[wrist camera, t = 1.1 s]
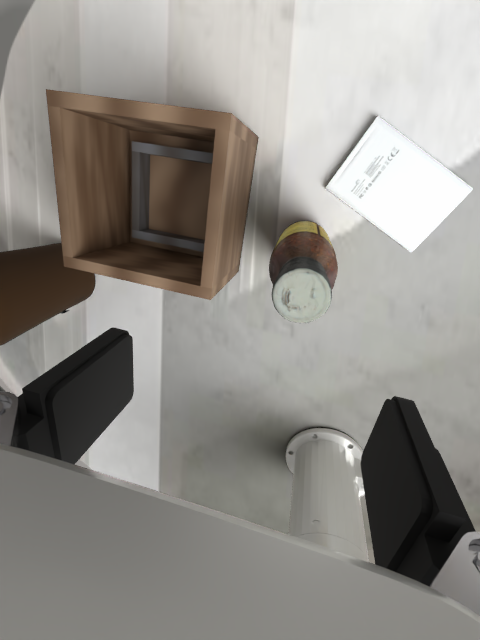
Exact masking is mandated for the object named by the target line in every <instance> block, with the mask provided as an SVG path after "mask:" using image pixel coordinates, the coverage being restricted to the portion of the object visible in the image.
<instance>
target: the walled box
mask: <svg viewBox="0 0 480 640" xmlns="http://www.w3.org/2000/svg"><path fill="white" fill-rule="evenodd" d="M46 95H47V105H48V115H49V124H50V134H51V144H52V154H53V164H54V173H55V183H56V193H57V203H58V213H59V222H60V232H61V242H62V252H63V261H64V266H65V267H69V268H73V269H78V270H82V271H86V272H91V273H95V274H100V275H104V276H108V277H113V278H117V279H121V280H126V281H130V282H135V283H139V284H143V285H148V286H152V287H156V288H161V289H165V290H170V291H174V292H178V293H183V294H187V295H191V296H196V297H200V298H205V299H209V300H211V299H212V298H213V297H214V296H215V295H216V294H217V293H218V292H219V291H220V290H221V289H222V288H223V287H224V286H225V285H226V284H227V283H228V282H229V281H230V280H231V279H232V278H233V277H234V276H235V275H236V273H237V272H238V271H239V264H240V258H241V251H242V244H243V237H244V231H245V224H246V217H247V210H248V204H249V197H250V190H251V183H252V177H253V170H254V163H255V156H256V150H257V143H258V136H257V135H255V134H254V133H253V132H252V131H251V130H250V129H249V128H248V127H246V126H245V125H244V124H243V123H242V122H241V121H240V120H239V119H237V118H236V117H235V116H234V115H233V114H232V113H225V112H217V111H209V110H202V109H194V108H186V107H178V106H171V105H163V104H155V103H147V102H140V101H132V100H124V99H116V98H109V97H101V96H93V95H85V94H78V93H70V92H62V91H54V90H47V89H46Z"/></svg>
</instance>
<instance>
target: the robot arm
mask: <svg viewBox="0 0 480 640" xmlns="http://www.w3.org/2000/svg"><path fill="white" fill-rule="evenodd" d="M22 391H23V394H21V395H20V396H19V397H17V396H16V395H15V394H12V393H10V392H2V391H0V640H480V533H479V532H476V531H475V529H474V527H473V525H472V522H471V520H470V518H469V516H468V514H467V512H466V509H465V507H464V505H463V503H462V501H461V498H460V496H459V494H458V492H457V490H456V487H455V485H454V483H453V481H452V479H451V477H450V474H449V472H448V470H447V468H446V466H445V463H444V461H443V459H442V457H441V455H440V453H439V451H438V450H437V449H436V448H435V447H434V445H433V443H432V441H431V438H430V436H429V434H428V432H427V429H426V427H425V425H424V423H423V420H422V418H421V416H420V414H419V411H418V409H417V407H416V405H415V403H414V401H412V400H408V399H404V398H400V397H396V396H394V397H393V398H392V399H391V400H390V399H386V401H385V402H384V405H383V407H382V409H381V412H380V414H379V416H378V419H377V421H376V423H375V426H374V428H373V430H372V433H371V435H370V437H369V439H368V442H367V444H366V446H365V449H364V451H362V449H361V447H360V446H359V445H358V443H357V442H356V441H354V440H353V439H352V438H351V437H349V436H348V435H346V434H344V433H342V432H339V431H336V430H332V429H326V428H314V429H308V430H305V431H302V432H300V433H298V434H297V435H295V436H294V437H293V438H292V439H291V440H290V442H289V443H288V446H287V448H286V463H287V466H288V468H289V470H290V471H291V472H292V474H293V486H292V497H291V509H290V520H289V532H288V534H285V533H282V532H279V531H276V530H273V529H270V528H267V527H264V526H261V525H258V524H255V523H252V522H249V521H246V520H243V519H240V518H237V517H234V516H231V515H228V514H225V513H222V512H219V511H216V510H213V509H210V508H207V507H204V506H201V505H198V504H195V503H192V502H189V501H186V500H182V499H179V498H176V497H173V496H170V495H167V494H164V493H161V492H158V491H155V490H152V489H149V488H146V487H143V486H140V485H136V484H133V483H130V482H127V481H124V480H121V479H118V478H115V477H112V476H108V475H105V474H102V473H99V472H96V471H93V470H89V469H87V468H83V467H80V466H77V465H74V464H75V463H76V462H77V461H78V460H79V459H80V458H81V456H82V455H83V454H84V453H85V452H86V451H87V450H88V448H89V447H90V446H91V445H92V444H93V443H94V442H95V440H96V439H97V438H98V437H99V436H100V435H101V434H102V432H103V431H104V430H105V429H106V428H107V427H108V426H109V424H110V423H111V422H112V421H113V420H114V419H115V418H116V416H117V415H118V414H119V413H120V412H121V411H122V410H123V409H124V407H125V406H126V405H127V404H128V403H129V402H130V400H131V399H132V396H133V392H134V387H133V341H132V336H130V335H129V333H128V331H125V330H121V329H117V328H110V329H109V330H107V331H106V332H104V333H103V334H101V335H100V336H99V337H97V338H96V339H94V340H93V341H91V342H90V343H88V344H87V345H85V346H84V347H82V348H81V349H80V350H78V351H77V352H75V353H74V354H72V355H71V356H69V357H68V358H66V359H65V360H63V361H62V362H60V363H59V364H58V365H56V366H55V367H53V368H52V369H50V370H49V371H47V372H46V373H44V374H43V375H41V376H40V377H38V378H37V379H36V380H34V381H33V382H31V383H30V384H28V385H27V386H25V387H24V388H22ZM362 496H365V499H366V505H367V512H368V518H369V525H370V531H371V538H372V544H373V550H374V557H375V564H376V565H375V564H372V563H370V562H369V560H368V553H367V545H366V538H365V531H364V523H363V516H362V508H361V501H360V497H362Z"/></svg>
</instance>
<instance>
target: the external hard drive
mask: <svg viewBox="0 0 480 640" xmlns="http://www.w3.org/2000/svg"><path fill="white" fill-rule="evenodd" d="M325 188H326V189H327V190H329V191H330V192H331V193H333V194H334V195H335V196H336V197H338V198H339V199H340V200H342V201H343V202H344V203H346V204H347V205H348V206H350V207H351V208H352V209H354V210H355V211H356V212H358V213H359V214H360V215H362V216H363V217H364V218H366V219H367V220H368V221H369V222H371V223H372V224H373V225H375V226H376V227H377V228H379V229H380V230H381V231H383V232H384V233H385V234H387V235H388V236H389V237H391V238H392V239H393V240H395V241H396V242H397V243H399V244H400V245H401V246H403V247H404V248H405V249H407V250H408V251H409V252H412V251H413V250H415V249H416V248H417V247H418V245H419V244H420V243H421V242H422V241H423V240H424V239H425V238H426V237H427V236H428V235H429V234H430V233H431V232H432V231H433V230H434V229H435V228H436V227H437V226H438V225H439V224H440V223H441V222H442V221H443V220H444V219H445V218H446V217H447V216H448V215H449V214H450V213H451V212H452V210H453V209H454V208H456V206H457V205H458V204H459V203H460V202H461V201H462V200H463V199H464V198H465V197H466V196H467V195H468V194H469V193H470V192H471V191H472V190H473V188H472V187H471V186H469V185H468V184H467V183H465V182H464V181H463V180H462V179H460V178H459V177H458V176H456V175H455V174H454V173H452V172H451V171H450V170H449V169H447V168H446V167H445V166H443V165H442V164H441V163H439V162H438V161H437V160H436V159H434V158H433V157H432V156H430V155H429V154H428V153H426V152H425V151H424V150H423V149H421V148H420V147H419V146H417V145H416V144H415V143H413V142H412V141H411V140H410V139H408V138H407V137H406V136H404V135H403V134H402V133H400V132H399V131H398V130H396V129H395V128H394V127H393V126H391V125H390V124H389V123H387V122H386V121H385V120H384V119H382V118H381V117H380V116H377V117H376V119H375V120H374V121H373V123H372V124H371V126H370V127H369V128H368V130H367V131H366V132H365V134H364V135H363V137H362V138H361V139H360V141H359V142H358V144H357V145H356V146H355V148H354V149H353V150H352V152H351V153H350V154H349V156H348V157H347V159H346V160H345V161H344V163H343V164H342V165H341V167H340V168H339V170H338V171H337V172H336V174H335V175H334V176H333V178H332V179H331V180H330V182H329V183H328V185H327V186H326V187H325Z"/></svg>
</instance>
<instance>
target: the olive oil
mask: <svg viewBox="0 0 480 640" xmlns="http://www.w3.org/2000/svg"><path fill="white" fill-rule="evenodd" d="M94 287H95V275H94V273H91V272H86V271H82V270H78V269H73V268H69V267H65V266H64V261H63V252H62V243H57V244H51V245H45V246H39V247H33V248H26V249H20V250H13V251H6V252H0V345H3V344H5V343H7V342H9V341H10V340H12V339H14V338H16V337H18V336H19V335H21V334H23V333H25V332H26V331H28V330H30V329H32V328H34V327H35V326H37V325H39V324H41V323H43V322H44V321H46V320H48V319H50V318H52V317H54V316H55V315H57V314H59V313H65V312H67V311H65V310H66V309H68V308H70V307H72V306H74V305H76V304H78V303H80V302H82V301H84V300H85V299H87V298H88V297H89V296H90V295H91V294H92V292H93V290H94ZM68 311H69V310H68Z"/></svg>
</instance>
